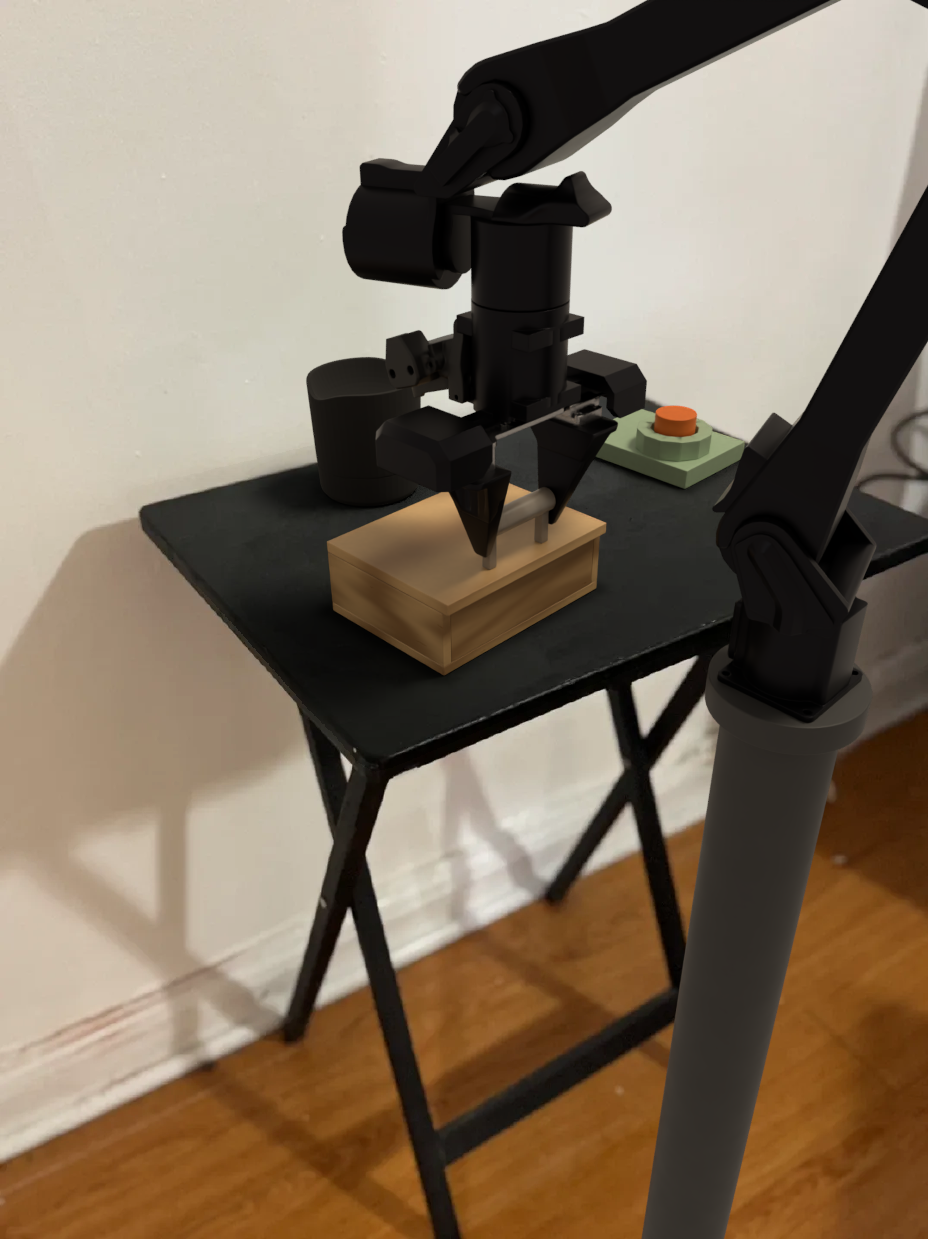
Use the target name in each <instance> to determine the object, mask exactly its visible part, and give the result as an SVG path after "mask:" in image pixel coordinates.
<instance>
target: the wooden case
mask: <svg viewBox="0 0 928 1239" xmlns="http://www.w3.org/2000/svg"><path fill="white" fill-rule="evenodd" d="M600 540H601V535H600V536H599V537H597V538H595V539H593V540H591V541H589V542H587V543H585V544H583V545H582V546H580V547H578V548H576V549H574V550H572V551H570V552H568V553H566V554H565V555H563V556H561V557H559V558H557V559H555V560H553V561H551V562H549V563H548V564H546V565H544V566H542V567H540V568H538V569H536V570H534V571H532V572H530V573H529V574H527V575H525V576H523V577H521V578H519V579H517V580H515V581H513V582H512V583H510V584H508V585H506V586H504V587H502V588H500V589H498V590H496V591H495V592H493V593H491V594H489V595H487V596H485V597H483V598H481V599H479V600H478V601H476V602H474V603H472V604H470V605H468V606H466V607H464V608H462V609H461V610H459V611H457V612H455V613H453V614H451V615H449V616H447V615H445V614H443V613H441V612H439V611H437V610H435V609H434V608H432V607H430V606H428V605H426V604H424V603H422V602H421V601H419V600H417V599H415V598H413V597H411V596H409V595H408V594H406V593H404V592H402V591H400V590H398V589H397V588H395V587H393V586H391V585H389V584H387V583H385V582H384V581H382V580H380V579H378V578H376V577H374V576H372V575H371V574H369V573H367V572H365V571H363V570H361V569H359V568H358V567H356V566H354V565H352V564H350V563H348V562H346V561H345V560H343V559H341V558H339V557H337V556H335V555H334V554H332V553H330V552H328V551H327V557H328V558H327V559H328V568H329V579H330V589H331V601H332V609H333V611H334V612H335V613H337V614H338V615H341V616H343V617H344V618H345V619H347V620H349V621H351V622H353V623H354V624H356V625H357V626H359V627H361V628H362V629H365V630H366V631H368V632H370V633H371V634H373V635H374V636H376V637H378V638H379V639H381V640H383V641H385V642H386V643H388V644H390V645H391V646H393V647H395V648H396V649H398V650H400V651H401V652H403V653H405V654H407V655H408V656H410V657H411V658H413V659H415V660H416V661H418V662H420V663H421V664H424V665H425V666H427V667H429V668H430V669H432V670H434V671H435V672H437V673H439V674H441V675H442V676H446V675H448V674H449V673H452V672H453V671H455V670H456V669H458V668H460V667H461V666H463V665H465V664H467V663H469V662H470V661H472V660H474V659H476V658H478V657H479V656H481V655H483V654H484V653H486V652H488V651H490V650H491V649H493V648H494V647H497V646H498V645H500V644H502V643H503V642H506V641H507V640H508V639H511V638H513V637H515V635H518V634H519V633H521V632H523V631H524V630H526V629H527V628H529V627H531V626H533V625H536V624H537V623H539V622H540V621H542V620H544V619H545V618H547V617H550V615H552V614H555V613H556V612H557V611H560V610H561V609H563V608H564V607H566V606H568V605H570V604H572V603H573V602H575V601H577V600H578V599H580V598H582V597H583V596H585V595H587V594H589V593H590V592H593V591H594V590H596V589H597V584H598V582H597V581H598V572H599V571H598V570H599V557H600V556H599V552H600Z"/></svg>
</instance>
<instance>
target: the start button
mask: <svg viewBox="0 0 928 1239" xmlns="http://www.w3.org/2000/svg"><path fill="white" fill-rule="evenodd" d="M654 413H655V424H654V431H655V433H658V434H661V435H664V436H672V437H686V436H692V435H694V433H695V428H696V420H697V419H698V413H697V411H696V410H694V409H693V408H691V407H687V406H683V405H664V406H661V407H659V408H657V409H656V410H655V412H654Z"/></svg>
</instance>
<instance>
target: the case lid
mask: <svg viewBox="0 0 928 1239" xmlns="http://www.w3.org/2000/svg"><path fill="white" fill-rule="evenodd" d="M555 504H556V499H555V496H554V494H553V492H552V491H551V490H550V489H548V488H546V487H542V488H540V489H538V488H537V489H536V490H534V491H530V490H527V489H524V488H522V487H519V486H517V485H514V484H512V483H510V482H509V486H508V491H507V495H506V499H505V503H504V507H503V511H502V515H501V520H500V524H499V528H498V532H497V537H496V540H495V543H494V546H493V549H492V552H491V555H490V556H488V557H486V558H484V557H482V556H480V555H478V554H476V553H475V552H474V550H473V547H472V545H471V542H470V540H469V538H468V535H467V533H466V530H465V528H464V526H463V523H462V521H461V518H460V516H459V514H458V511H457V509H456V506H455V504H454V502H453V500H452V498H451V496H450V494H449V492H438V493H436V494H434V495H432V496H429V497H427V498H424V499H422V500H420V501H417V502H416V503H413V504H411V505H408V506H406V507H404V508H402V509H398V510H397V511H395V512H392V513H390V514H388V515H385V516H383V517H380V518H378V519H376V520H374V521H371V522H369V523H367V524H364V525H362V526H360V527H357V528H355V529H353V530H351V531H348V532H346V533H343V534H341V535H339V536H336V537H334V538H332V539H329V540H327V541H326V548H327V553H328V552H330V553H332V554H334V555H335V556H337V557H339V558H341V559H343V560H345V561H346V562H348V563H350V564H352V565H354V566H356V567H358V568H359V569H361V570H363V571H365V572H367V573H369V574H371V575H372V576H374V577H376V578H378V579H380V580H382V581H384V582H385V583H387V584H389V585H391V586H393V587H395V588H397V589H398V590H400V591H402V592H404V593H406V594H408V595H409V596H411V597H413V598H415V599H417V600H419V601H421V602H422V603H424V604H426V605H428V606H430V607H432V608H434V609H435V610H437V611H439V612H441V613H443V614H445V615H447V616H449V615H451V614H453V613H455V612H457V611H459V610H461V609H462V608H464V607H466V606H468V605H470V604H472V603H474V602H476V601H478V600H479V599H481V598H483V597H485V596H487V595H489V594H491V593H493V592H495V591H496V590H498V589H500V588H502V587H504V586H506V585H508V584H510V583H512V582H513V581H515V580H517V579H519V578H521V577H523V576H525V575H527V574H529V573H530V572H532V571H534V570H536V569H538V568H540V567H542V566H544V565H546V564H548V563H549V562H551V561H553V560H555V559H557V558H559V557H561V556H563V555H565V554H566V553H568V552H570V551H572V550H574V549H576V548H578V547H580V546H582V545H583V544H585V543H587V542H589V541H591V540H593V539H595V538H597V537H599V536H600V537H601V536H603V535H605V534H606V532H607V522H605V521H602V520H601V519H598V518H596V517H593V516H590V515H588V514H586V513H583V512H581V511H578V510H576V509H574V508H571V507H569V506H567V505H566V506H565V508H564V510H563V512H562V513H561V515H560V517H559V519H558V520H557V522H556V523H554V524H552V525H550V524H548V519H549V511H550V510H552V509H553V508H554V507H555Z"/></svg>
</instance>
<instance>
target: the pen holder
mask: <svg viewBox="0 0 928 1239" xmlns="http://www.w3.org/2000/svg"><path fill="white" fill-rule="evenodd" d="M305 383H306V384H305V385H306V390H307V391H306V392H307V397H308V405H309V412H310V413H309V414H310V420H311V421H310V422H311V428H312V435H313V443H314V449H315V457H316V462H317V469H318V474H319V475H318V477H319V482H320V487H321V489H322V491H323V493H325V495H327V496H328V498H330V499H332V500H333V501H335V502H337V503H340V504H343V505H348V506H355V507H378V506H385V505H389V504H393V503H397V502H399V501H402V500H405V499H406V498H408V497H409V496H411V495H412V494H413V493H414V492H415V491H416V490H417V488H418V487H419V486H420V485H419V484H417V483H414V482H412V481H410V480H407V479H405V478H403V477H401V476H398V475H396V474H394V473H391V472H389V471H387V470H385V469H382V468H380V467H378V466H377V458H376V442H375V440H376V431H377V430H378V429H379V428H380V427H381V426H382V424H383V423H384V422H385V421H386V420H389V419H392V418H395V417H397V416H400V415H403V414H406V413H409V412H411V411H414V410H417V409H420V408H422V397H417V398H415V397H414V395H413V391H412V388H411V387H410V388H404V389H396V388H395V387H394V386H393V385H392V384H391V383H390V380H389V376H388V373H387V369H386V365H385V358H382V357H376V356H359V357H358V356H357V357H349V358H341V359H336V360H332V361H329V362H326V363H323V364H321V365H318V366H316V367H313V369H311V370H310V371H309V372H308V373H307V375H306V378H305Z"/></svg>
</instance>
